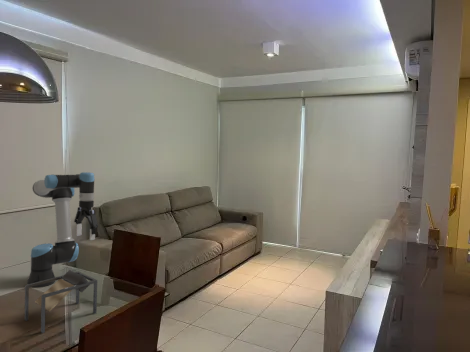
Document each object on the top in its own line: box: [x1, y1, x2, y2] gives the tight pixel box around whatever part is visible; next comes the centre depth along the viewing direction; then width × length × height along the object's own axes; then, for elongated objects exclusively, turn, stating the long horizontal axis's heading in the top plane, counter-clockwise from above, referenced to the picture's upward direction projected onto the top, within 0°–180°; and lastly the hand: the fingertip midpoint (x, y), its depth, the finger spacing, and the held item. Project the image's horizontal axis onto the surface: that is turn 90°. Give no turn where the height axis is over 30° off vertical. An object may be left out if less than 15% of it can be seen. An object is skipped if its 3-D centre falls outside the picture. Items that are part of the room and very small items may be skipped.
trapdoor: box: [34, 269, 90, 312], centre depth 176 cm, size 21×14×6 cm
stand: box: [24, 271, 98, 334], centre depth 176 cm, size 27×18×18 cm, turn 143°
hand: (85, 237), depth 197 cm, fingers open, 13 cm apart
